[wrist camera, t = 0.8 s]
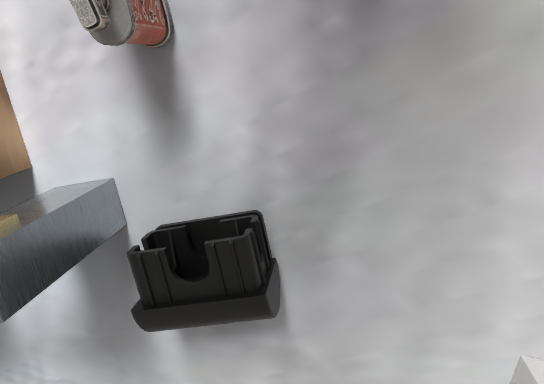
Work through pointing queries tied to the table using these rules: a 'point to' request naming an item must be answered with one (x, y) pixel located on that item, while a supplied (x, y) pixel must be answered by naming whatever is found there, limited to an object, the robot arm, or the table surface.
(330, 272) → the table surface
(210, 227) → the end cap
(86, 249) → the housing
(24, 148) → the plug
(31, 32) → the table surface
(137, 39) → the lighter
